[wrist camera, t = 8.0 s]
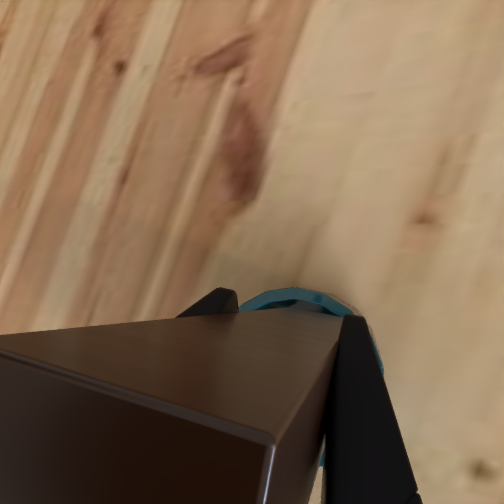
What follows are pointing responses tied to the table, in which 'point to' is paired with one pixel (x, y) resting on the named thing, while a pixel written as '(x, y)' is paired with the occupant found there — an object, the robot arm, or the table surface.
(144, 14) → the table surface
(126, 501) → the brown square bar
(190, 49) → the table surface
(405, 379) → the table surface
